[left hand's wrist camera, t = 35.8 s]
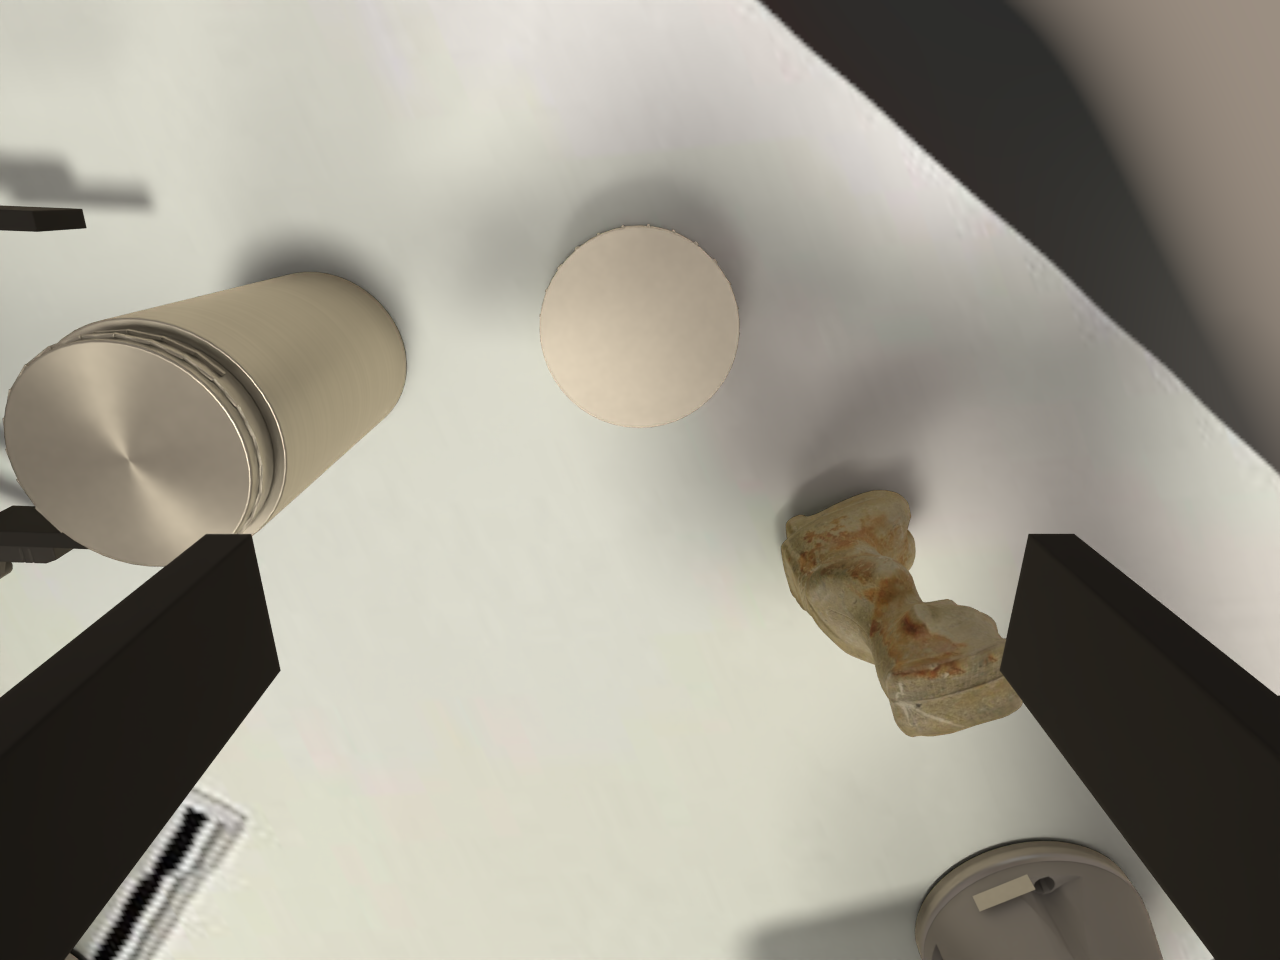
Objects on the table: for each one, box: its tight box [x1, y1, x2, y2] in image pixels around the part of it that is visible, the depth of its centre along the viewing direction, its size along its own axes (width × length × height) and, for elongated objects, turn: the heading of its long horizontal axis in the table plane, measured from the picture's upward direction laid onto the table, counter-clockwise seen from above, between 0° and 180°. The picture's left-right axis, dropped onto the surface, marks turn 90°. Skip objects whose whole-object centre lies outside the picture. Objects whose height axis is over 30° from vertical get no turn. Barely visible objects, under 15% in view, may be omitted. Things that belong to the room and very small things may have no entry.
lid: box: [540, 224, 740, 428], centre depth 36 cm, size 10×10×2 cm
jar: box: [3, 272, 406, 566], centre depth 31 cm, size 8×8×16 cm
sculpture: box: [781, 490, 1023, 737], centre depth 34 cm, size 6×7×15 cm
